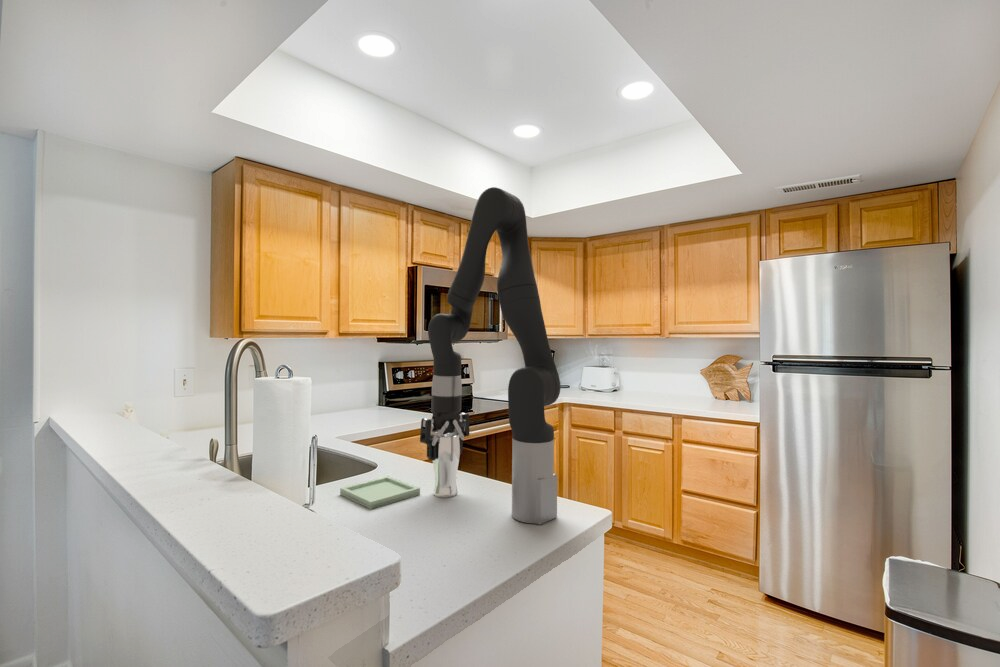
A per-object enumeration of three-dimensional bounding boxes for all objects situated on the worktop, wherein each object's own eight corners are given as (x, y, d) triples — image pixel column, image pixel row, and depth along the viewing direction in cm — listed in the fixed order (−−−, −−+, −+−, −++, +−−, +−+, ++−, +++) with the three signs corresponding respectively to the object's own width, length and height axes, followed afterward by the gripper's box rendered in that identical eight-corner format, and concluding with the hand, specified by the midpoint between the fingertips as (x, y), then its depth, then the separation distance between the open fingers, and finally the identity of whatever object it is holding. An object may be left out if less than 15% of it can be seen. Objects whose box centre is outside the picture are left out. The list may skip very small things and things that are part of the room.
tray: (419, 494, 119) (420, 488, 119) (370, 509, 109) (370, 502, 109) (388, 482, 129) (388, 476, 129) (340, 494, 119) (340, 488, 119)
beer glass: (427, 496, 118) (427, 436, 118) (438, 487, 124) (439, 430, 124) (453, 499, 116) (453, 438, 116) (463, 490, 122) (464, 432, 122)
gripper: (433, 397, 112) (432, 465, 113) (477, 392, 123) (475, 454, 123) (414, 393, 118) (413, 458, 118) (458, 389, 128) (456, 449, 128)
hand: (445, 456), depth 120 cm, fingers open, 8 cm apart
